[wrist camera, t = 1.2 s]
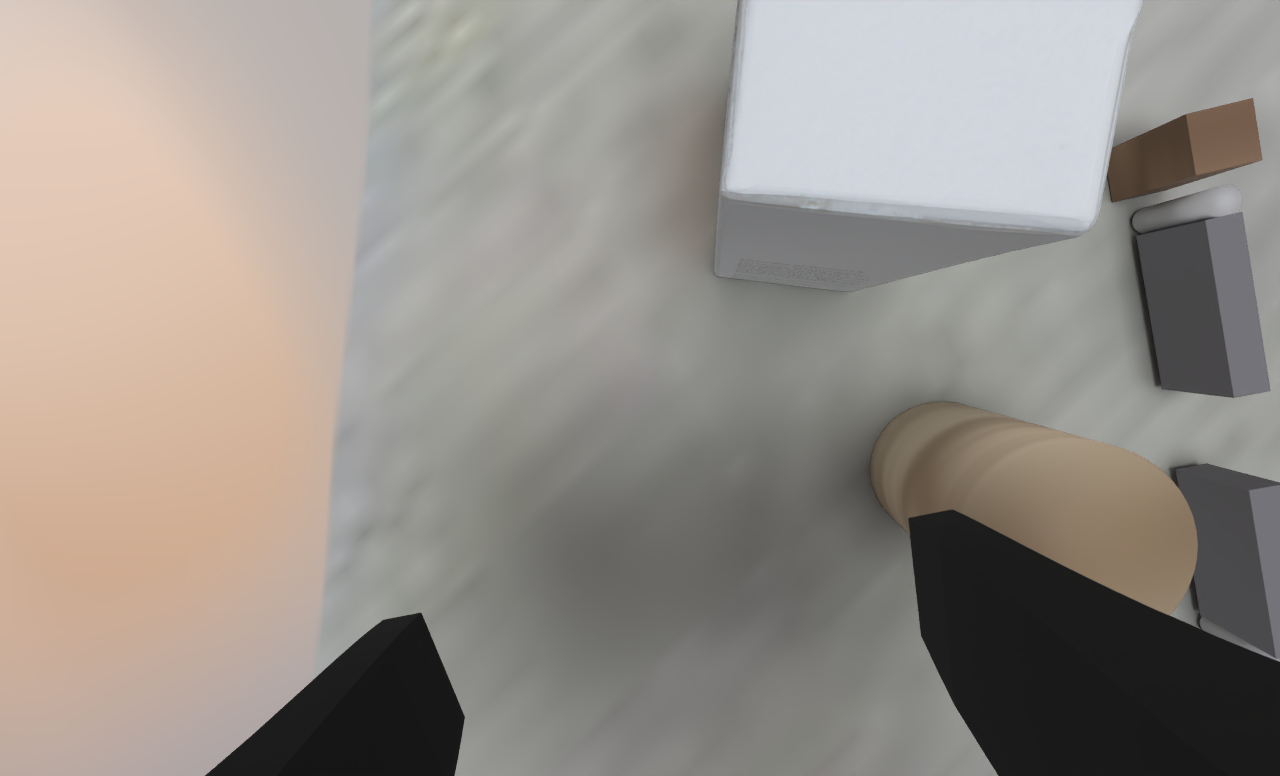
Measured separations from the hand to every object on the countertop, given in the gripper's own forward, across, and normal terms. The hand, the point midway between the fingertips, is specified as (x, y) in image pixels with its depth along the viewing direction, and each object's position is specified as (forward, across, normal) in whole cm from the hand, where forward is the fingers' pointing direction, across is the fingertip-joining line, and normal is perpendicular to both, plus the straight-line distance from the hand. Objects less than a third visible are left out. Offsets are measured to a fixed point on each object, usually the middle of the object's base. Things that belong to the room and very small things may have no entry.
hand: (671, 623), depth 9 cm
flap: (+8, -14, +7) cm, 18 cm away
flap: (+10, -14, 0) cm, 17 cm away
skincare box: (+12, -5, -5) cm, 14 cm away
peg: (+9, -8, +4) cm, 13 cm away
